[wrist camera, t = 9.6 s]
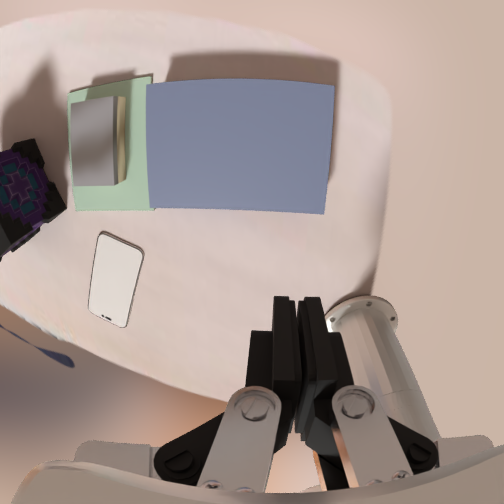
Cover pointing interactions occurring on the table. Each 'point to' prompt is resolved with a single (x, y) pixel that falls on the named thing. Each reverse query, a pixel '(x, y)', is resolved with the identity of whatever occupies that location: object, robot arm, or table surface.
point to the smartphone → (114, 279)
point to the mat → (136, 184)
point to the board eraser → (98, 141)
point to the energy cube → (24, 195)
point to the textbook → (239, 144)
